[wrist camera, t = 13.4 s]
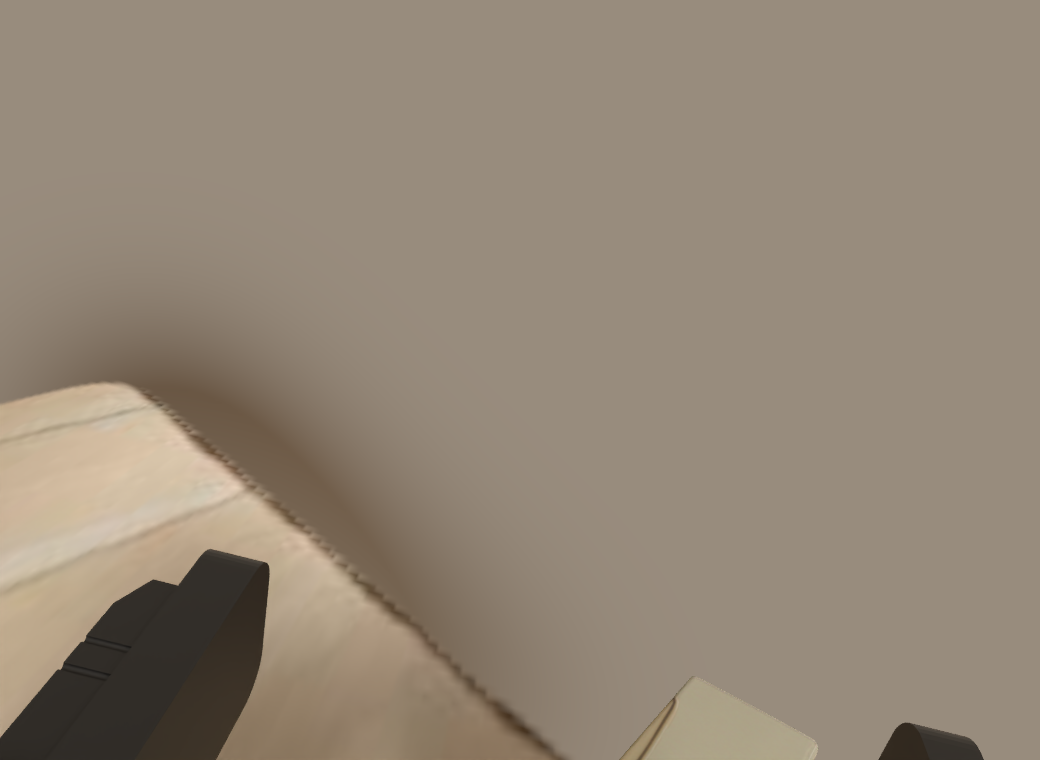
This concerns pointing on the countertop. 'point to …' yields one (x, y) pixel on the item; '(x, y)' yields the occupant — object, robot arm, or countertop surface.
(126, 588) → the countertop surface
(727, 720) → the skincare box
